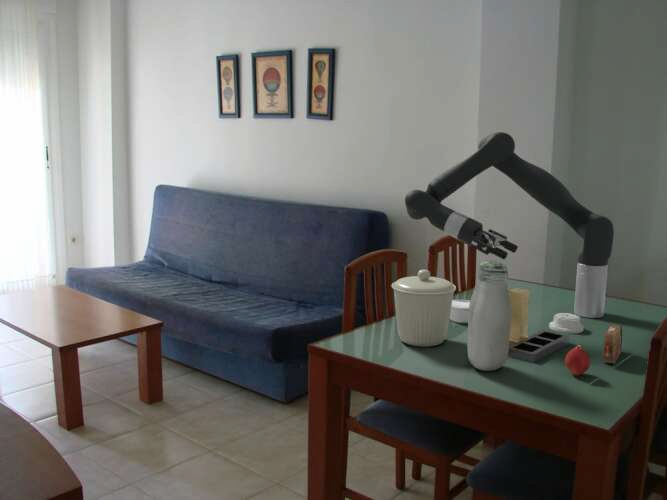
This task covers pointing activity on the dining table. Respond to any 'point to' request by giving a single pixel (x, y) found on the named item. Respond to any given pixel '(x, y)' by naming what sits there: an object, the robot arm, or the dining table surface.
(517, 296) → the brass block
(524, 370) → the dining table surface
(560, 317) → the mechanical component
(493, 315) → the glass bottle
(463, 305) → the ramekin
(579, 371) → the pomegranate
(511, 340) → the tile
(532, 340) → the compartment tray
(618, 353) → the tin
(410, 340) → the canister
